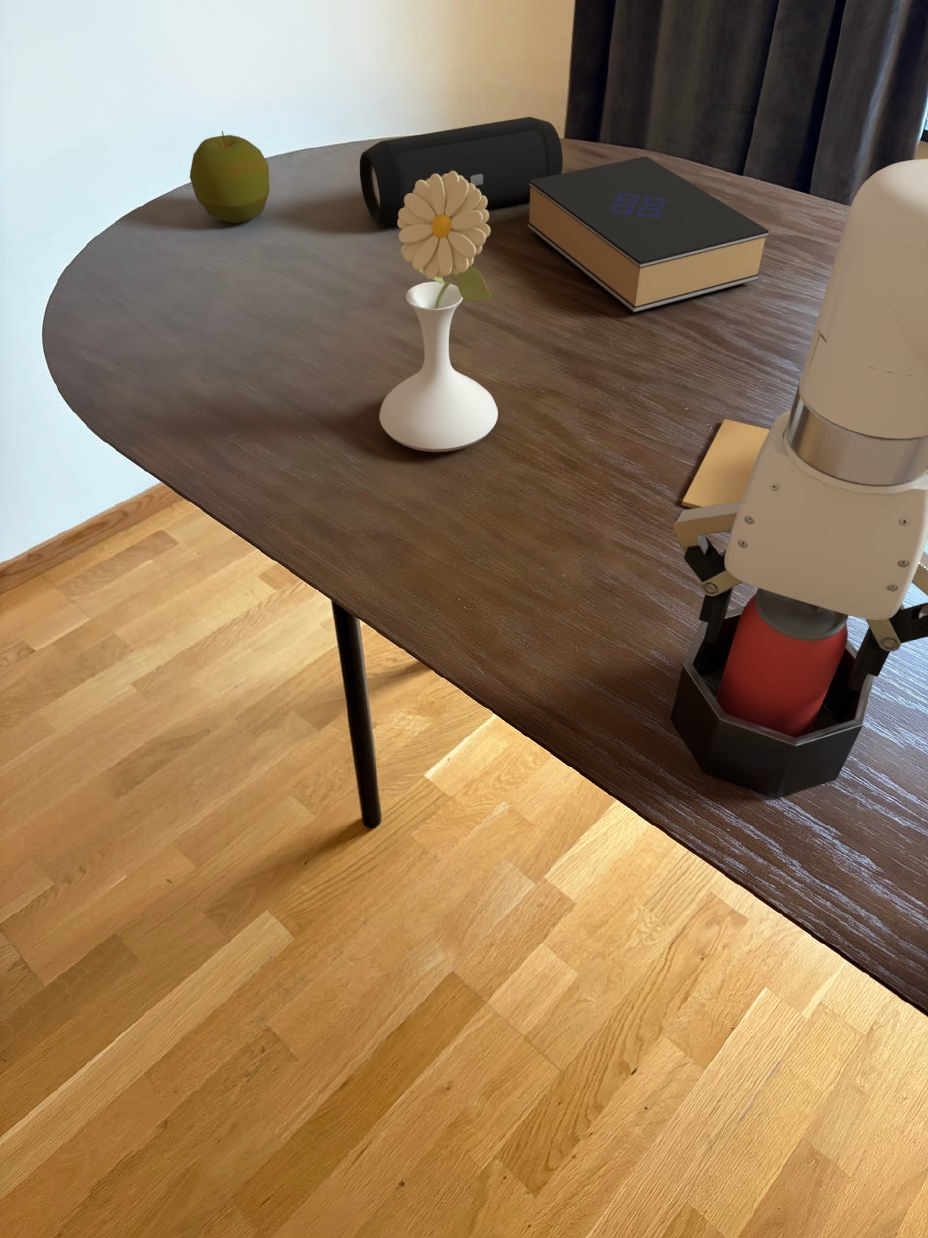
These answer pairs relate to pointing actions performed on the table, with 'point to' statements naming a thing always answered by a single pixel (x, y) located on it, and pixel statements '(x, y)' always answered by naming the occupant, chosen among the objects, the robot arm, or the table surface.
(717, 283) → the book
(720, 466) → the cork mat
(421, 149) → the portable speaker
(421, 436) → the flower in vase
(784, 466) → the robot arm
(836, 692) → the black octagonal pot
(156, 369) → the table surface
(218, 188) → the apple
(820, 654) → the beer can
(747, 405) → the table surface
